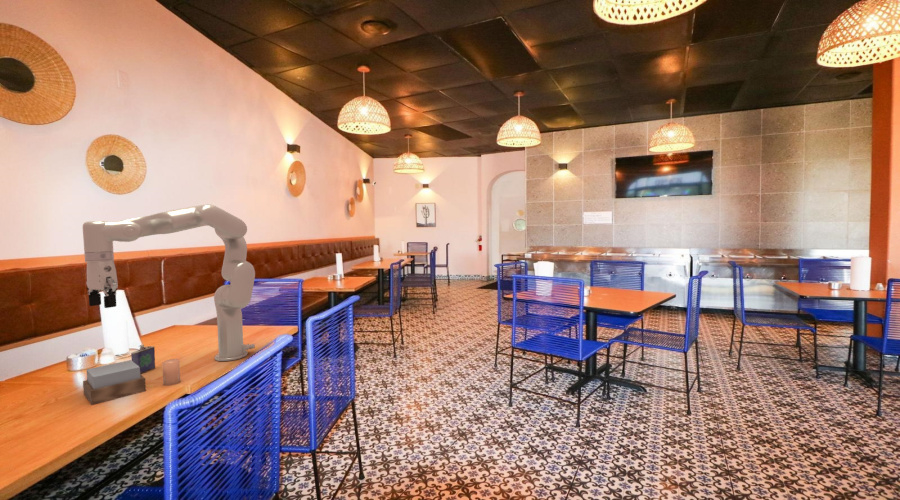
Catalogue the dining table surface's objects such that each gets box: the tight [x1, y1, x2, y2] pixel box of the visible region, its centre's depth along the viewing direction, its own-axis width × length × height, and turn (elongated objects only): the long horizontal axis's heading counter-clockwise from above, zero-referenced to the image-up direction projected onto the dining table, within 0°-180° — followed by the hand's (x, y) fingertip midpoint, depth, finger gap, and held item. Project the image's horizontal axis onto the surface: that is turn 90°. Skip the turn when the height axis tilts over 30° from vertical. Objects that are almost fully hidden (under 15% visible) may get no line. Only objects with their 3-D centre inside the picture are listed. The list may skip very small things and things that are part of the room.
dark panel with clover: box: [130, 344, 156, 375], centre depth 155 cm, size 9×3×11 cm, turn 172°
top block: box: [86, 359, 140, 389], centre depth 135 cm, size 12×12×4 cm
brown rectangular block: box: [161, 358, 181, 387], centre depth 143 cm, size 5×5×8 cm
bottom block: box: [82, 374, 147, 406], centre depth 135 cm, size 14×14×5 cm
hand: (102, 306), depth 137 cm, fingers open, 9 cm apart
